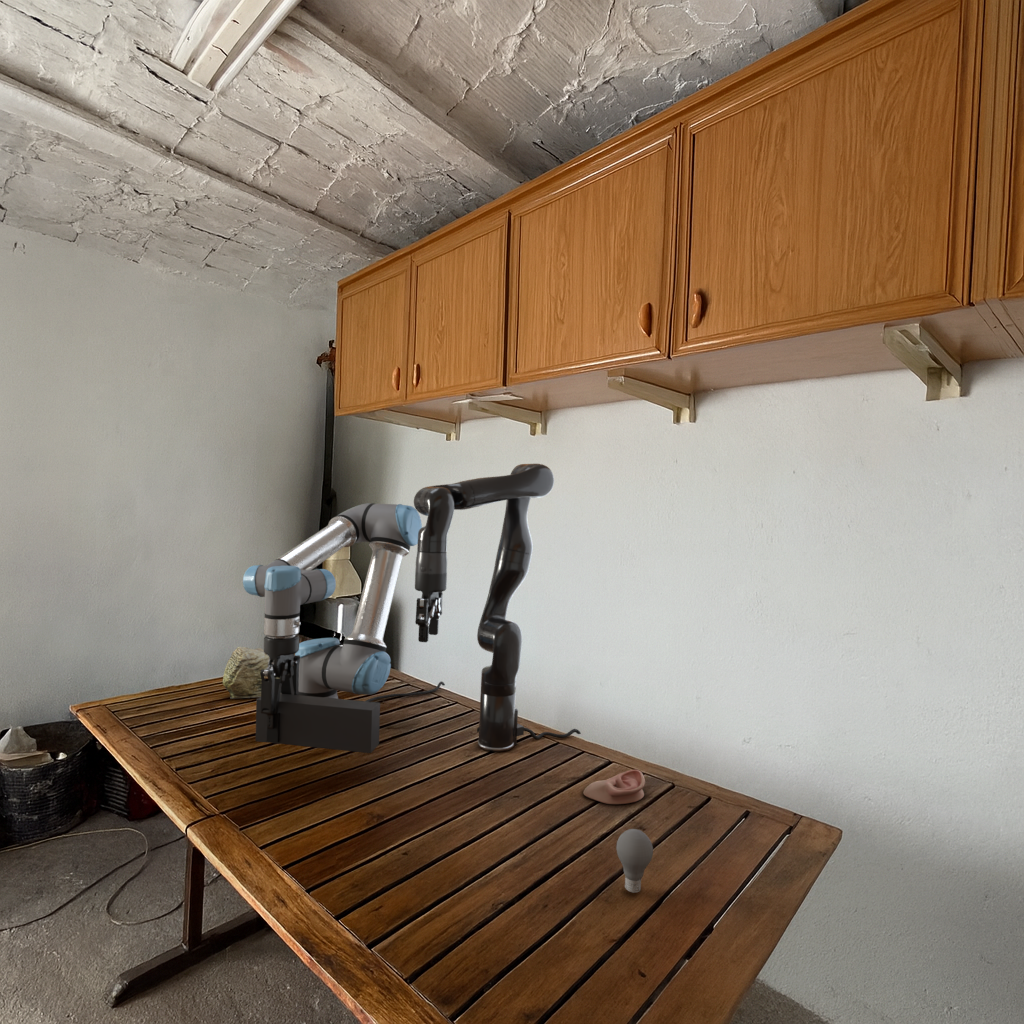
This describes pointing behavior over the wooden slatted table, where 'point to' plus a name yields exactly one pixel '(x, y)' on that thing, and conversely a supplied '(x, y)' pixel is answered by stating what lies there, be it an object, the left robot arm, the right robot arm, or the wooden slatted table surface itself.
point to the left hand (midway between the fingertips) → (279, 736)
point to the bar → (324, 723)
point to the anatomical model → (618, 788)
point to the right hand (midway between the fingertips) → (428, 638)
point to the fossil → (245, 672)
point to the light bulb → (634, 857)
